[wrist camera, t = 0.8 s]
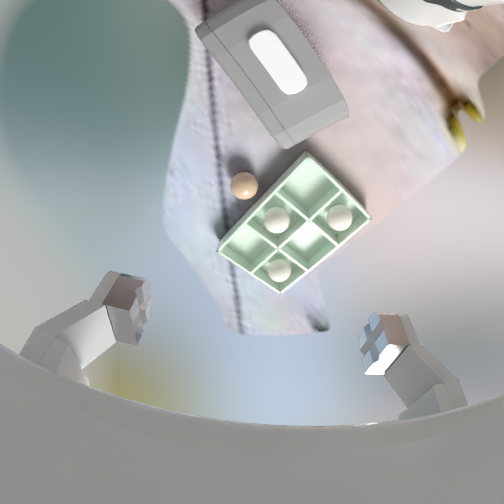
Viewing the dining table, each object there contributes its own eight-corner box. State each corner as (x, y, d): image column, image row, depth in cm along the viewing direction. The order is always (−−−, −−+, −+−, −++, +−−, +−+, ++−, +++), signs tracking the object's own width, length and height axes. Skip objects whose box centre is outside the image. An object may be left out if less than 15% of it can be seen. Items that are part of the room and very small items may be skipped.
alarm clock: (207, 36, 31) (180, 20, 20) (260, 5, 28) (256, -25, 17) (282, 138, 41) (287, 163, 30) (334, 110, 37) (360, 124, 26)
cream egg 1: (275, 197, 46) (275, 209, 42) (294, 213, 47) (296, 225, 44) (258, 214, 48) (257, 227, 44) (277, 229, 49) (277, 243, 46)
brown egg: (243, 163, 43) (240, 171, 40) (264, 179, 45) (263, 189, 41) (226, 182, 45) (222, 192, 42) (247, 197, 47) (244, 209, 43)
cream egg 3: (337, 195, 45) (343, 206, 41) (354, 211, 46) (360, 223, 42) (319, 212, 47) (323, 224, 43) (336, 227, 48) (341, 240, 45)
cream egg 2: (278, 249, 52) (278, 264, 48) (295, 262, 53) (296, 277, 50) (263, 263, 54) (262, 278, 50) (279, 275, 55) (280, 290, 52)
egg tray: (305, 150, 41) (308, 155, 38) (366, 209, 46) (372, 218, 43) (219, 240, 52) (216, 251, 49) (280, 282, 57) (280, 294, 54)
